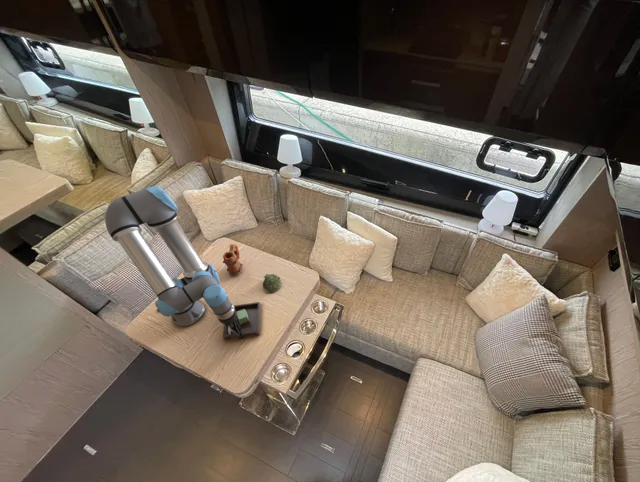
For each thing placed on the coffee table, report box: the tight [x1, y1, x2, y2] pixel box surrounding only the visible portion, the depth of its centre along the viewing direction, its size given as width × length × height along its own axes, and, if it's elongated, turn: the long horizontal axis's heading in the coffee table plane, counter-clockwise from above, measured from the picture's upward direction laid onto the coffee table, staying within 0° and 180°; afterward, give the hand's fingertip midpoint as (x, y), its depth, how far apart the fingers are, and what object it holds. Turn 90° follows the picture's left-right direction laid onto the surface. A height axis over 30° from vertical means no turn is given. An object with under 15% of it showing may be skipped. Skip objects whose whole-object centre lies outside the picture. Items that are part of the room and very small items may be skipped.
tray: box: [222, 301, 262, 341], centre depth 141 cm, size 17×18×3 cm
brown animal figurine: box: [222, 243, 243, 276], centre depth 159 cm, size 15×8×15 cm, turn 179°
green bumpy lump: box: [262, 273, 282, 294], centre depth 156 cm, size 10×7×10 cm
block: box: [237, 309, 249, 325], centre depth 140 cm, size 5×5×5 cm
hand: (241, 337), depth 134 cm, fingers closed
